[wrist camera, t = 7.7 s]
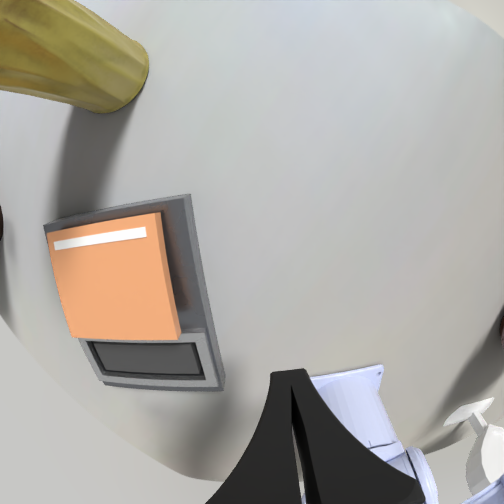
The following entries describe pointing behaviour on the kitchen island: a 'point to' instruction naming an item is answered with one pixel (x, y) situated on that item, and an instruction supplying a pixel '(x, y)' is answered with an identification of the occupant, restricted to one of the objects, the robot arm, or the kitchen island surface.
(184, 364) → the plunger
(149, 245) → the panel
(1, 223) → the coffee mug
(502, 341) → the flowerpot
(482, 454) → the heart sculpture
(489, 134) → the kitchen island surface
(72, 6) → the vase
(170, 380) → the console
